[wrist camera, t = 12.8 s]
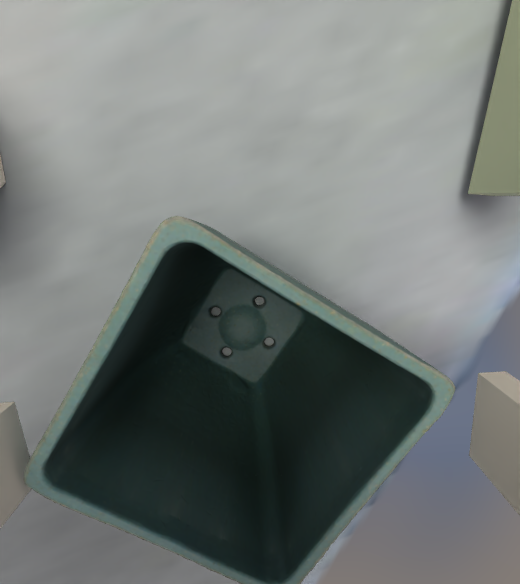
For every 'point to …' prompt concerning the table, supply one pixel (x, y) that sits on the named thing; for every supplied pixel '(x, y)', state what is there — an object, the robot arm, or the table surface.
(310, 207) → the table surface
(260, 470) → the flower pot
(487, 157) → the gate
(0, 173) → the mug
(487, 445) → the robot arm
